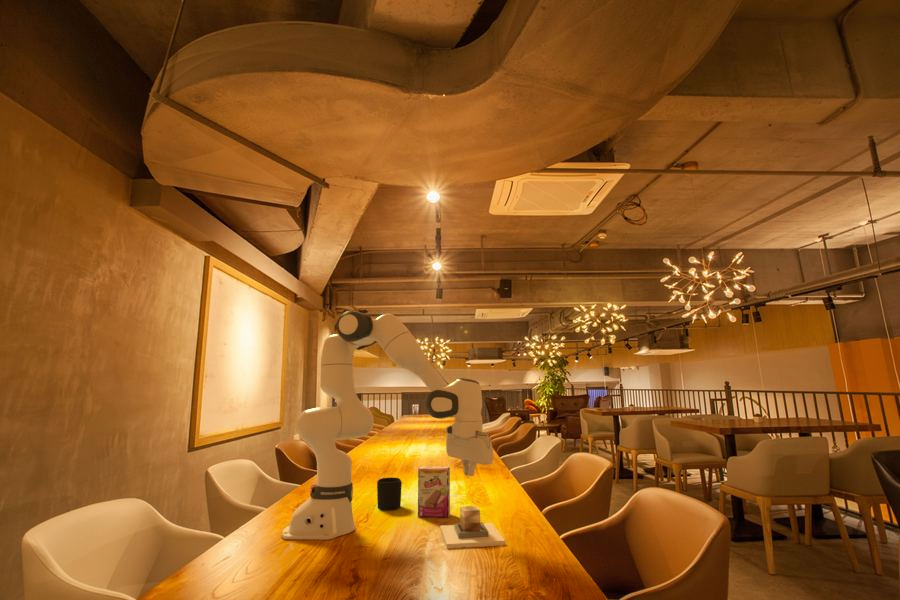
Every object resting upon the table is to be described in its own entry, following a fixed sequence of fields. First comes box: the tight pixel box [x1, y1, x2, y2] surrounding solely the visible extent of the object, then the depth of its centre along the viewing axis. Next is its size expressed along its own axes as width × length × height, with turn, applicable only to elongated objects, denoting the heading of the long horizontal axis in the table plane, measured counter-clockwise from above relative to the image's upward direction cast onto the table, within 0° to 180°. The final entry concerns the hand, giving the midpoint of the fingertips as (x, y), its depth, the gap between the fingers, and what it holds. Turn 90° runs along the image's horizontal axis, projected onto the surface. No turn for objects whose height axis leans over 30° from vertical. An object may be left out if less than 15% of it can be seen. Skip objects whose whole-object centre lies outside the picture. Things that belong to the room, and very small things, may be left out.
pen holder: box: [376, 477, 403, 511], centre depth 169 cm, size 9×9×10 cm
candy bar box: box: [417, 465, 451, 519], centre depth 158 cm, size 11×5×16 cm, turn 84°
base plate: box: [439, 521, 506, 549], centre depth 135 cm, size 17×17×3 cm
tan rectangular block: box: [459, 505, 481, 532], centre depth 135 cm, size 5×5×7 cm
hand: (469, 475), depth 138 cm, fingers closed
